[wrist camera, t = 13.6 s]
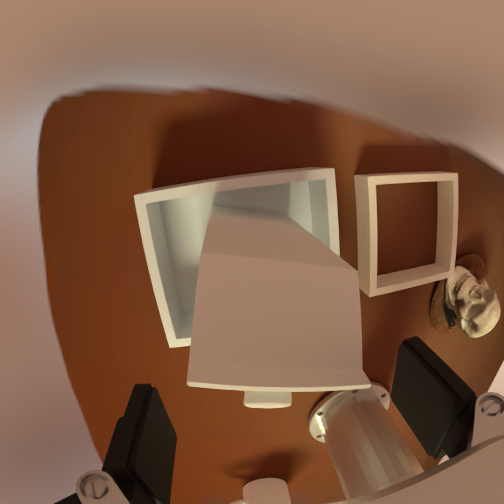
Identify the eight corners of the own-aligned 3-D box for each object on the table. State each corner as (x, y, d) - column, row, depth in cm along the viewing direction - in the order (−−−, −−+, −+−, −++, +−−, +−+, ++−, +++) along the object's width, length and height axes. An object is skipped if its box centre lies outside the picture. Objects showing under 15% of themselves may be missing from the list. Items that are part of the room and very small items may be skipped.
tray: (439, 268, 32) (453, 276, 29) (357, 286, 32) (369, 297, 29) (441, 171, 29) (457, 173, 26) (354, 175, 28) (367, 176, 25)
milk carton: (211, 204, 27) (192, 290, 9) (288, 215, 28) (403, 307, 9) (202, 279, 29) (185, 442, 10) (275, 286, 30) (343, 440, 11)
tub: (320, 294, 31) (340, 321, 26) (177, 315, 30) (169, 347, 25) (311, 167, 28) (334, 168, 22) (151, 188, 27) (133, 195, 21)
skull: (415, 300, 32) (492, 285, 24) (427, 248, 38) (489, 231, 30) (439, 355, 35) (502, 348, 27) (449, 304, 41) (503, 293, 33)
